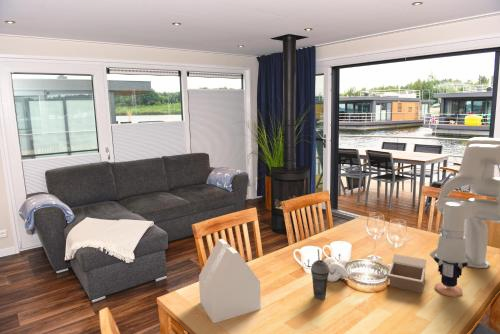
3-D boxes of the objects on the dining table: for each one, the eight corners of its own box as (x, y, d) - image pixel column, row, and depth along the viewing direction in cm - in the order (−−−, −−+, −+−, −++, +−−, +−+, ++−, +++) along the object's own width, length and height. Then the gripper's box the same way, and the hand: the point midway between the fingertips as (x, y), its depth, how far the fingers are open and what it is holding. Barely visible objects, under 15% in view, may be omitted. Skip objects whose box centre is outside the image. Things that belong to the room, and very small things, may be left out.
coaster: (435, 282, 154) (435, 280, 154) (462, 287, 149) (462, 285, 149) (433, 293, 145) (434, 290, 145) (462, 299, 140) (462, 296, 140)
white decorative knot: (356, 280, 157) (357, 261, 156) (336, 288, 151) (337, 268, 149) (337, 271, 167) (338, 252, 165) (318, 277, 160) (318, 259, 159)
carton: (393, 267, 168) (394, 254, 167) (425, 273, 161) (426, 259, 160) (385, 290, 148) (385, 274, 147) (421, 298, 142) (422, 282, 140)
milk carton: (213, 323, 129) (210, 258, 125) (200, 302, 143) (197, 243, 138) (260, 309, 137) (259, 247, 133) (244, 291, 151) (242, 234, 146)
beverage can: (458, 289, 143) (461, 260, 141) (443, 287, 145) (445, 260, 142) (453, 282, 149) (456, 255, 147) (439, 281, 150) (441, 254, 148)
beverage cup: (318, 303, 139) (318, 255, 136) (306, 295, 146) (307, 249, 142) (332, 298, 143) (333, 251, 139) (321, 290, 149) (321, 245, 146)
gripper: (428, 232, 144) (425, 274, 147) (478, 239, 135) (474, 283, 139) (429, 226, 150) (426, 267, 153) (477, 233, 142) (473, 275, 145)
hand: (449, 274), depth 146 cm, fingers closed on beverage can, 5 cm apart
